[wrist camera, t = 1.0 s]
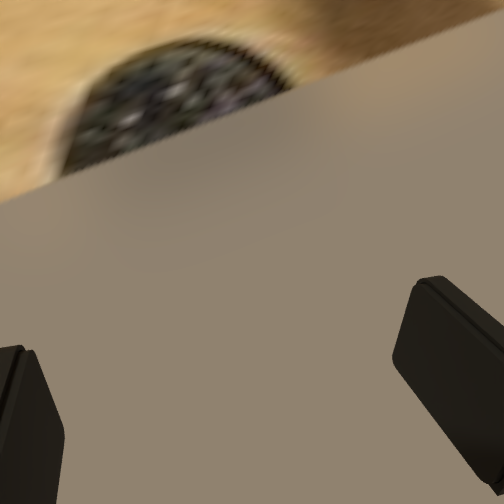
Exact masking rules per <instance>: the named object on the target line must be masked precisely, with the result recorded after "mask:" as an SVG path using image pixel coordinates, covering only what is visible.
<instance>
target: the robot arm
mask: <svg viewBox="0 0 504 504" xmlns="http://www.w3.org/2000/svg"><path fill="white" fill-rule="evenodd" d="M392 360H393V364H394V366H395V368H396V369H397V370H398V372H399V373H400V374H401V376H402V377H403V378H404V380H405V381H406V382H407V384H408V385H409V386H410V388H411V389H412V390H413V392H414V393H415V394H416V395H417V397H418V398H419V400H420V401H421V402H422V404H423V405H424V406H425V408H426V409H427V410H428V412H429V413H430V414H431V416H432V417H433V418H434V419H435V421H436V422H437V423H438V425H439V426H440V427H441V429H442V430H443V431H444V433H445V434H446V435H447V437H448V438H449V439H450V441H451V442H452V443H453V445H454V446H455V447H456V449H457V450H458V451H459V453H460V454H461V455H462V457H463V458H464V459H465V461H466V462H467V463H468V465H469V466H470V467H471V468H472V470H473V471H474V472H475V474H476V475H477V476H478V477H479V479H480V480H481V481H483V482H484V483H486V484H489V486H490V487H491V488H492V490H493V491H494V492H495V493H496V495H497V496H499V495H502V494H504V326H503V325H501V324H500V323H499V322H498V321H497V320H496V319H494V318H493V317H492V316H491V315H490V314H488V313H487V312H486V311H485V310H484V309H482V308H481V307H480V306H479V305H478V304H477V303H475V302H474V301H473V300H472V299H471V298H469V297H468V296H467V295H466V294H465V293H463V292H462V291H461V290H460V289H458V288H457V287H456V286H455V285H454V284H453V283H451V282H450V281H449V280H448V279H447V278H445V277H443V276H434V277H428V278H422V279H419V280H418V281H417V283H416V285H415V286H413V288H412V291H411V294H410V297H409V301H408V304H407V307H406V311H405V314H404V317H403V321H402V324H401V328H400V331H399V334H398V338H397V341H396V345H395V348H394V351H393V355H392ZM64 439H65V436H64V427H63V424H62V421H61V419H60V416H59V414H58V411H57V408H56V406H55V403H54V401H53V398H52V395H51V393H50V390H49V388H48V385H47V382H46V380H45V377H44V375H43V372H42V369H41V367H40V364H39V362H38V359H37V357H36V354H35V352H34V351H33V350H28V351H26V350H25V348H24V347H23V346H22V345H16V346H10V347H3V348H0V504H56V500H57V492H58V485H59V478H60V471H61V463H62V455H63V449H64Z"/></svg>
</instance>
